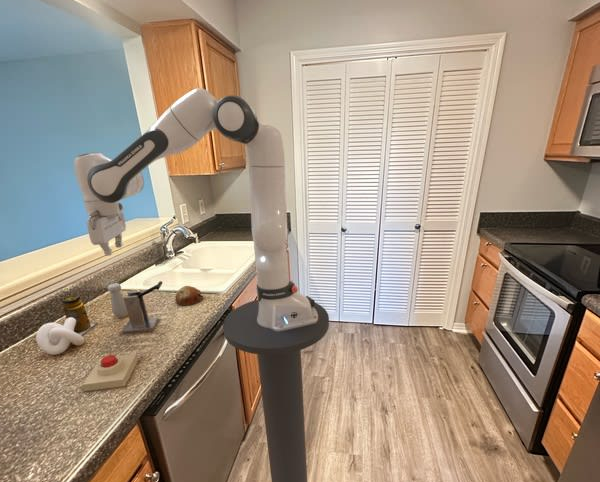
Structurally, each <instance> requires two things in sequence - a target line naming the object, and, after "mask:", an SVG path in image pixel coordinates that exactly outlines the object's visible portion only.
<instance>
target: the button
mask: <svg viewBox="0 0 600 482" xmlns="http://www.w3.org/2000/svg"><path fill="white" fill-rule="evenodd" d="M116 356H117V355H114V354H108V355H106V356H103V357H101V358H102V359H101V358H100V359H101V363H102V366H103V367H104V368H106V367H110V366H113V365H115V364H116V363H117V360H116Z"/></svg>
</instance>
